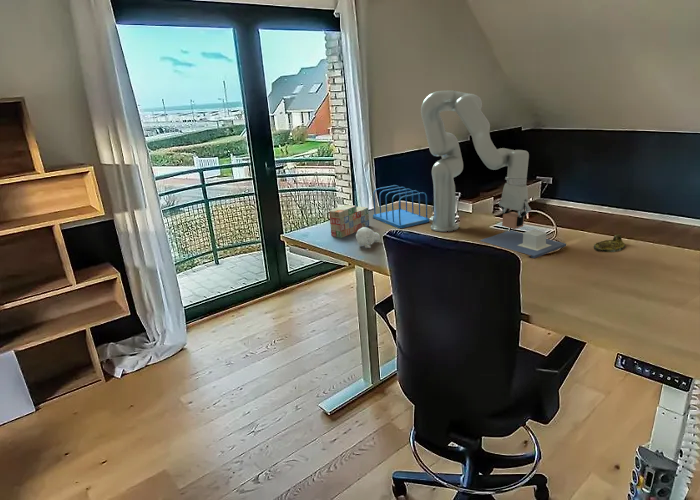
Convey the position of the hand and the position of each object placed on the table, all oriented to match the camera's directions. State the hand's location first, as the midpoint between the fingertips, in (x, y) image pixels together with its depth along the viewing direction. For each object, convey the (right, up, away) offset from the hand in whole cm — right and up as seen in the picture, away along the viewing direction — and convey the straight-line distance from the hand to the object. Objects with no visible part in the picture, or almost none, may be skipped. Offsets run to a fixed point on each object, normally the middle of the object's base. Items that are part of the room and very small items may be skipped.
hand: (512, 223), depth 197 cm
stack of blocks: (-68, -2, +26) cm, 72 cm away
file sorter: (-43, +3, +38) cm, 57 cm away
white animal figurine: (-60, -9, +4) cm, 61 cm away
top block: (0, -1, 0) cm, 1 cm away
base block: (+4, -9, -13) cm, 16 cm away
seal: (+31, -11, -17) cm, 37 cm away
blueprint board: (+1, -9, -8) cm, 12 cm away
